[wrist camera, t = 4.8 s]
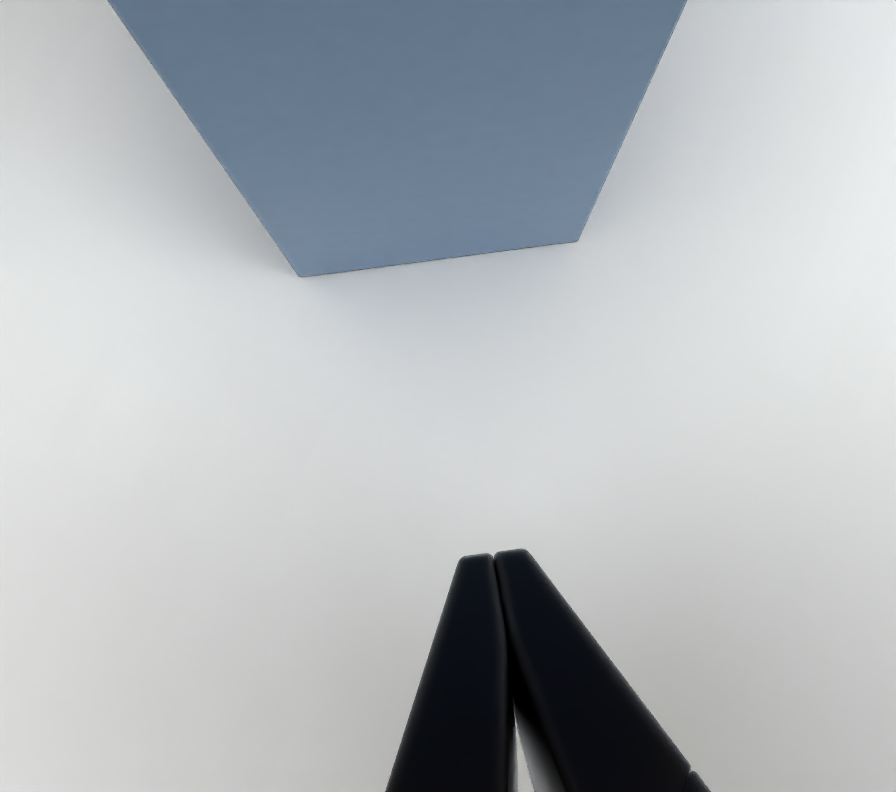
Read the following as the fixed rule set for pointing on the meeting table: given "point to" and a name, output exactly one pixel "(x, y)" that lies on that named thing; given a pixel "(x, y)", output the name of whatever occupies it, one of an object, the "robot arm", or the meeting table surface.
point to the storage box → (408, 115)
